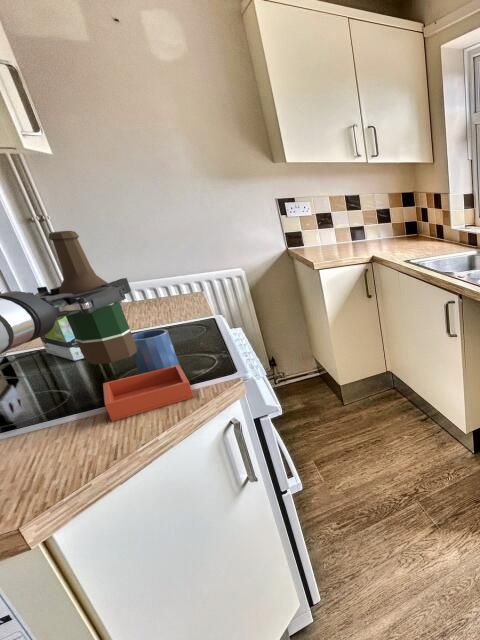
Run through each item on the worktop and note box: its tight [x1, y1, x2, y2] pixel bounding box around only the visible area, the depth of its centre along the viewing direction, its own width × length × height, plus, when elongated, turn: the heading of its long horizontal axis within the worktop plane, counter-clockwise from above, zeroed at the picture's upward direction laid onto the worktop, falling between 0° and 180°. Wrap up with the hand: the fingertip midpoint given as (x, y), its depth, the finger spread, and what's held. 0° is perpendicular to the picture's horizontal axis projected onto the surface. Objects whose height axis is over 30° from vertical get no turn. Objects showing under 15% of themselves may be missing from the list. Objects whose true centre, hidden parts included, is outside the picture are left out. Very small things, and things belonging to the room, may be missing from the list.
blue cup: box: [132, 328, 180, 374], centre depth 94 cm, size 7×7×10 cm
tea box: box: [39, 316, 85, 362], centre depth 109 cm, size 15×10×15 cm
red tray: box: [102, 364, 195, 422], centre depth 85 cm, size 13×13×4 cm
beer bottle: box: [48, 230, 137, 366], centre depth 78 cm, size 8×8×24 cm
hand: (103, 286), depth 82 cm, fingers closed on beer bottle, 7 cm apart
